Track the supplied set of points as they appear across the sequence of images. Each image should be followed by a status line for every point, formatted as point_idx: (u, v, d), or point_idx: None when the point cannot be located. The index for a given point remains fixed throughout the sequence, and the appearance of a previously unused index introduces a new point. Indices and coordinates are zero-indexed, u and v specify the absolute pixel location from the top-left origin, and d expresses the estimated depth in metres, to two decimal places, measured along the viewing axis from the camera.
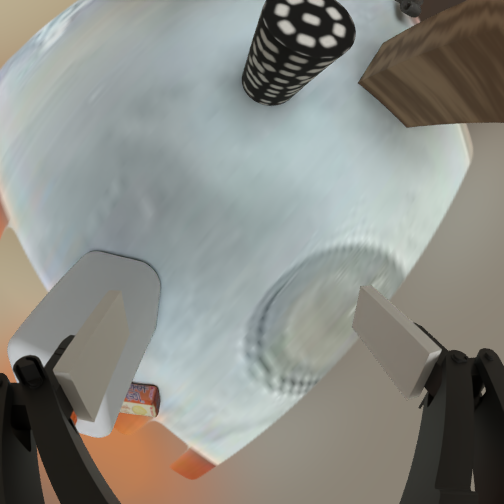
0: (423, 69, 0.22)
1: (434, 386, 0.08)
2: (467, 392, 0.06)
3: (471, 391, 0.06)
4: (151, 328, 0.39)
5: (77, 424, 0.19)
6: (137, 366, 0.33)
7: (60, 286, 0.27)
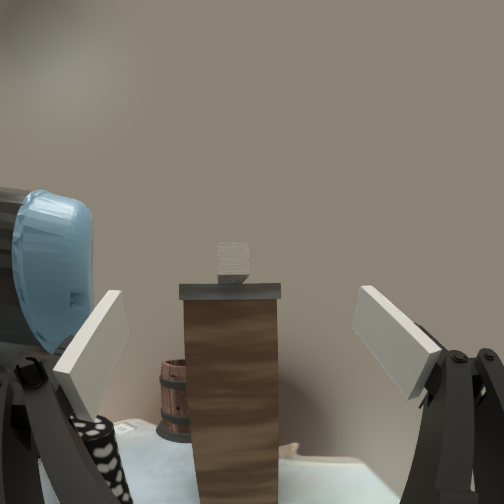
0: (206, 440, 0.30)
1: (434, 386, 0.08)
2: (467, 392, 0.06)
3: (471, 391, 0.06)
4: None
5: None
6: None
7: None
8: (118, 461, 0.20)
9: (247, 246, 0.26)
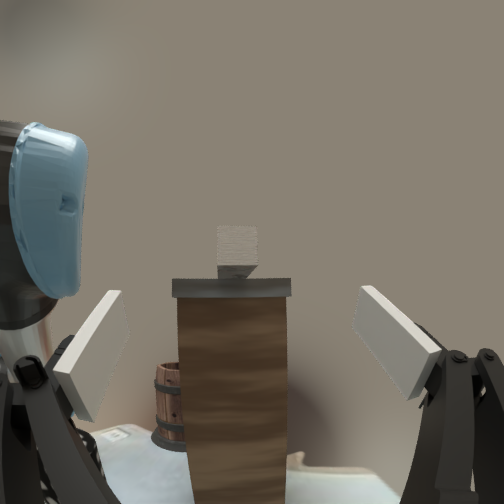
0: (205, 457, 0.25)
1: (434, 386, 0.08)
2: (467, 392, 0.06)
3: (471, 391, 0.06)
4: None
5: None
6: None
7: None
8: None
9: (254, 230, 0.21)
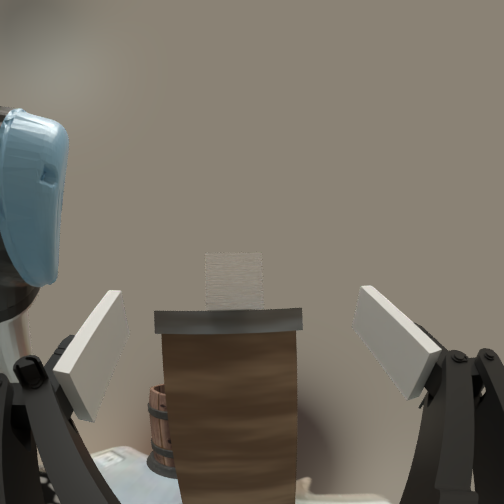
0: None
1: (434, 386, 0.08)
2: (467, 392, 0.06)
3: (471, 391, 0.06)
4: None
5: None
6: None
7: None
8: None
9: (258, 258, 0.15)
